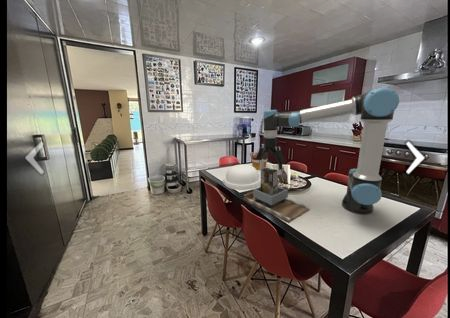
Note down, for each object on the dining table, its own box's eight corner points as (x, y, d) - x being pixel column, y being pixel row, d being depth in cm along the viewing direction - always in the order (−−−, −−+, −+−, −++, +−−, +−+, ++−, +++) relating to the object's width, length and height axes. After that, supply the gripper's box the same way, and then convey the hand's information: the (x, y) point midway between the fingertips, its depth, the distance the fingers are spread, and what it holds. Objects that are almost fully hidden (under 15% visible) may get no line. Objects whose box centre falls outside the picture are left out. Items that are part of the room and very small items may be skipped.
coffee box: (278, 194, 120) (279, 170, 116) (272, 198, 116) (273, 172, 112) (265, 190, 127) (266, 167, 123) (260, 194, 122) (260, 169, 118)
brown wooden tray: (309, 210, 112) (309, 203, 111) (288, 222, 100) (288, 216, 99) (264, 191, 138) (264, 186, 137) (243, 200, 127) (243, 194, 126)
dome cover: (259, 175, 172) (259, 160, 168) (265, 189, 143) (265, 171, 139) (223, 177, 173) (222, 161, 169) (222, 190, 144) (221, 172, 140)
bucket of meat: (260, 172, 180) (260, 151, 175) (246, 169, 191) (246, 149, 186) (272, 167, 194) (272, 147, 189) (258, 164, 205) (258, 146, 200)
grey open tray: (287, 201, 120) (288, 190, 118) (271, 209, 112) (271, 197, 110) (268, 194, 132) (269, 183, 130) (253, 200, 123) (253, 189, 121)
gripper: (250, 136, 120) (251, 169, 125) (284, 140, 100) (283, 178, 106) (258, 135, 124) (259, 166, 129) (292, 138, 105) (291, 175, 110)
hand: (270, 172), depth 118 cm, fingers open, 13 cm apart
